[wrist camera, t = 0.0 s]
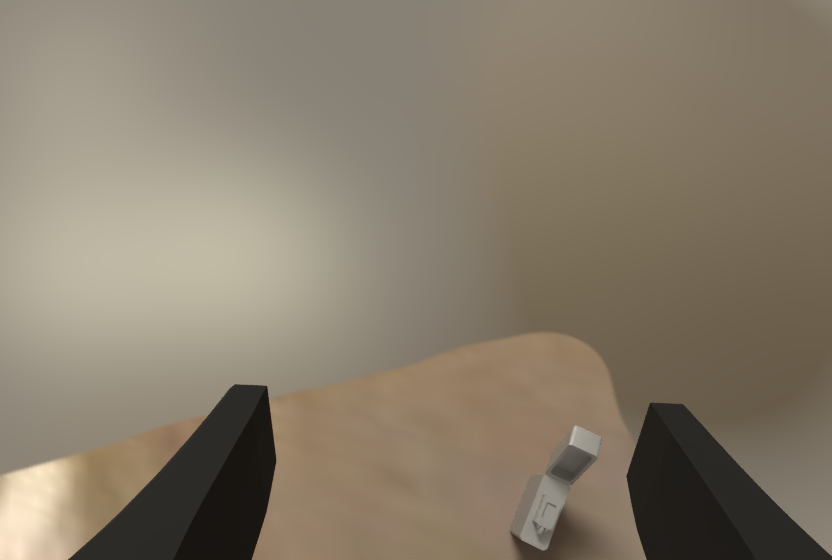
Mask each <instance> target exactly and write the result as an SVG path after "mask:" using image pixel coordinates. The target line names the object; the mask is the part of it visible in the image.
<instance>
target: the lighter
mask: <svg viewBox="0 0 832 560" xmlns="http://www.w3.org/2000/svg"><path fill="white" fill-rule="evenodd" d="M601 441H602V439H601V437H600V436H598V435H596V434H594V433H591V432H589V431H587V430H585V429H583V428H581V427H578V426H573V428H572V429H571V430H570V431H569V432H568V434H567V435H566V436H565V437H564V439H563V440H562V441H561V442H560V443H559V445H558V446H557V447H556V448H555V449H554V451H553V452H552V453H551V455H550V458H549V462H548V465H547V469H546V473H547V474H537V473H534V474H531V476H530V479H529V481H528V484H527V486H526V489H525V491H524V494H523V496H522V499H521V501H520V504H519V506H518V509H517V511H516V514H515V516H514V519H513V521H512V524H511V526H510V532H511V533H512V534H513V535H515V536H516V537H518V538H519V539H521V540H522V541H525V542H527V543H529V544H531V545H533V546H535V547H537V548H539V549H541V550H543V551H544V550H546V549H547V548H548V545H549V543H550V540H551V537H552V535H553V532H554V530H555V527H556V524H557V522H558V519H559V516H560V514H561V511H562V508H563V506H564V503H565V501H566V498H567V495H568V493H569V490H570V487H569V485H572V484H573V483H574V482H575V481H576V480H577V479H578V478H579V477H580V476H581V475H582V474H583V473H584V472H585V471H586V470H587V469H588V468H589V467H590V466H591V465H592V464H593V463H594V462H595V461H596V460H597V458H598V454H599V449H600V445H601Z"/></svg>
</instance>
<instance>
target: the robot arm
mask: <svg viewBox="0 0 832 560" xmlns="http://www.w3.org/2000/svg"><path fill="white" fill-rule="evenodd" d="M275 465H276V454H275V446H274V437H273V429H272V421H271V413H270V405H269V397H268V389H267V386H258V385H236V384H235V385H234V386H232V387H231V388H230V389H229V390H228V391H227V393H226V394H225V395H224V397H223V398H222V399H221V400H220V402H219V403H218V404H217V405H216V407H215V408H214V409H213V410H212V412H211V413H210V414H209V415H208V416H207V418H206V419H205V420H204V421H203V423H202V424H201V425H200V426H199V427H198V428H197V430H196V431H195V432H194V433H193V434H192V436H191V437H190V438H189V439H188V440H187V441H186V443H185V444H184V445H183V446H182V447H181V448H180V449H179V450H178V452H177V453H176V454H175V455H174V456H173V457H172V458H171V459H170V461H169V462H168V463H167V464H166V465H165V466H164V467H163V468H162V470H161V471H160V472H159V473H158V474H157V475H156V476H155V477H154V478H153V479H152V480H151V481H150V482H149V483H148V484H147V485H146V486H145V487H144V488H143V489H142V490H141V491H140V492H139V494H138V495H137V496H136V497H135V498H134V499H133V500H132V501H131V502H130V503H129V504H128V505H127V506H126V507H125V508H124V509H123V510H122V511H121V512H120V513H119V514H118V515H117V516H116V517H115V518H114V519H113V520H111V521H110V522H109V523H108V524H107V525H106V526H105V527H104V528H103V529H102V530H101V531H100V532H99V533H98V534H96V535H95V536H94V537H93V538H92V539H91V540H90V541H89V542H88V543H86V544H85V545H84V546H83V547H82V548H81V549H80V550H79V551H77V552H76V553H75V554H74V555H73V556H72V557H71V558H69V559H68V560H252V557H253V553H254V550H255V547H256V544H257V541H258V538H259V534H260V531H261V528H262V525H263V521H264V518H265V515H266V512H267V507H268V502H269V497H270V492H271V487H272V481H273V476H274V471H275ZM627 481H628V487H629V492H630V498H631V503H632V508H633V513H634V517H635V522H636V527H637V531H638V534H639V537H640V540H641V543H642V546H643V549H644V553H645V556H646V559H647V560H832V556H831V555H830V554H829V553H827V552H826V551H825V550H824V549H823V548H822V547H821V546H820V545H819V544H818V543H816V541H814V540H813V539H812V538H811V537H810V536H809V535H808V534H807V533H806V532H805V531H804V530H803V529H802V528H801V527H800V526H799V525H797V524H796V523H795V522H794V521H793V520H792V519H791V518H790V517H789V516H788V515H787V514H786V513H785V512H784V511H783V510H782V509H781V508H780V507H779V506H778V505H777V504H776V503H775V502H774V501H773V500H772V499H771V498H770V497H769V496H768V495H767V494H766V493H765V492H764V491H763V490H762V489H761V488H760V487H759V486H758V485H757V484H756V483H755V482H754V481H753V479H752V478H751V477H750V476H749V475H748V474H747V473H746V472H745V471H744V470H743V469H742V468H741V467H740V466H739V465H738V464H737V463H736V461H734V459H733V458H732V457H731V456H730V455H729V454H728V453H727V452H726V451H725V450H724V449H723V447H722V446H721V445H720V444H719V443H718V442H717V441H716V440H715V439H714V438H713V437H712V435H711V434H710V433H709V432H708V431H707V430H706V429H705V428H704V427H703V425H702V424H701V423H700V422H699V421H698V420H697V419H696V418H695V417H694V416H693V415H692V413H691V412H690V411H689V410H688V409H687V408H686V407H685V406H684V405H683V404H668V403H650V405H649V408H648V411H647V414H646V417H645V420H644V424H643V427H642V430H641V433H640V436H639V439H638V442H637V445H636V448H635V451H634V454H633V458H632V461H631V464H630V467H629V470H628V473H627Z"/></svg>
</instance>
